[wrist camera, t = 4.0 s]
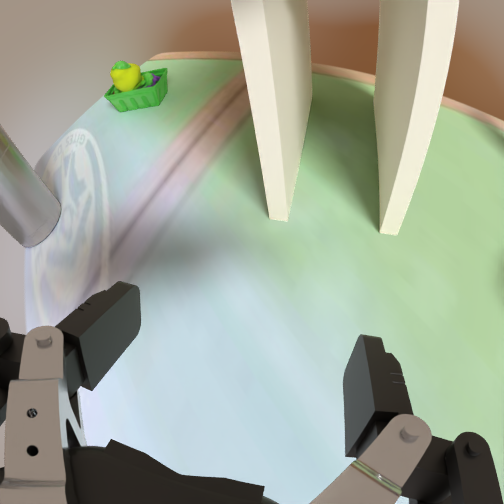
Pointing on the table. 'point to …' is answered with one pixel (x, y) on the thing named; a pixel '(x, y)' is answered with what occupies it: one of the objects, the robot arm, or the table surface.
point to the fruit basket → (136, 87)
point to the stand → (385, 99)
